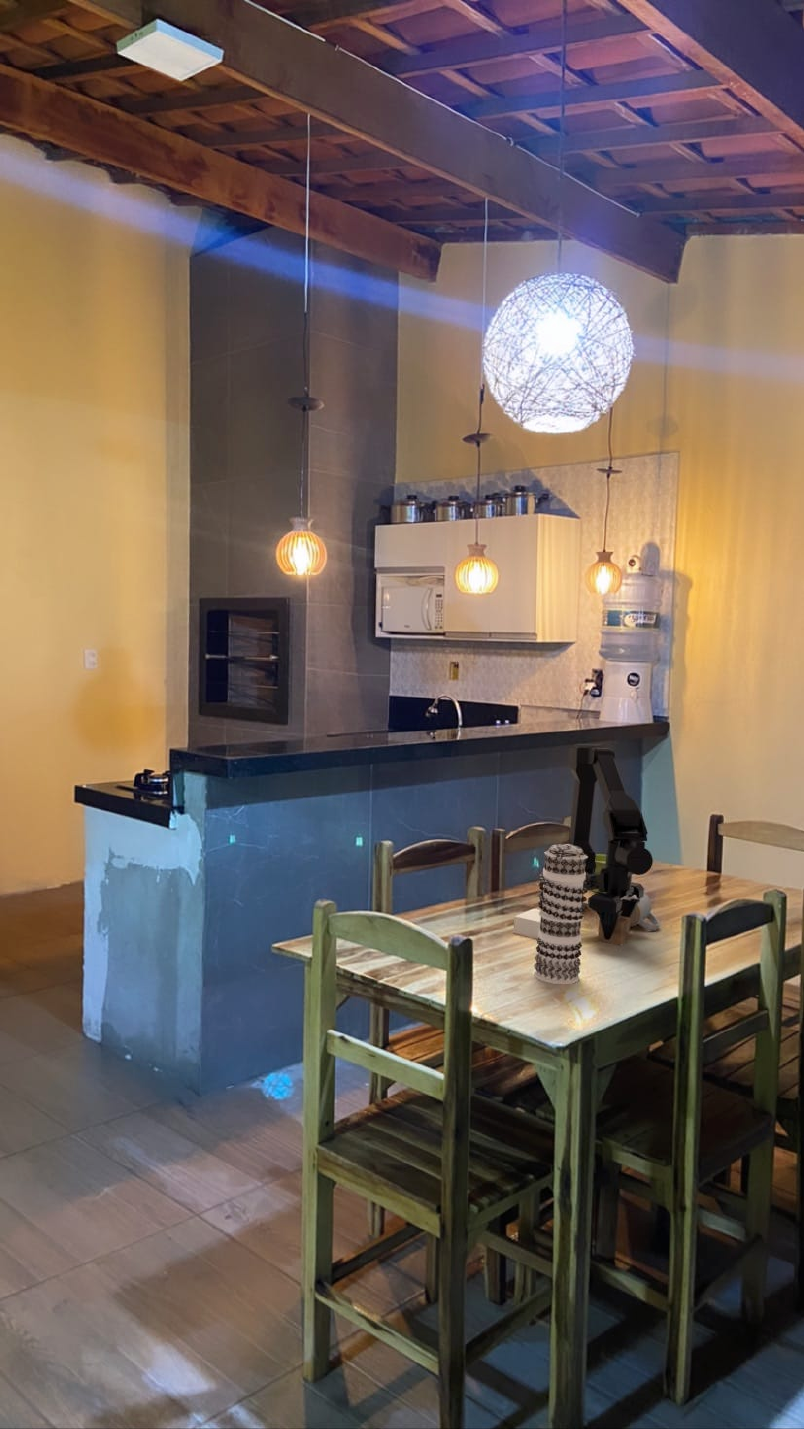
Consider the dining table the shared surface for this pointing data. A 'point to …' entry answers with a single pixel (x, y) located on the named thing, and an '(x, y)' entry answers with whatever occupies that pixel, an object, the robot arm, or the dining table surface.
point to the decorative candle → (561, 914)
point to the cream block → (528, 923)
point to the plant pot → (599, 865)
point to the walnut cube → (617, 932)
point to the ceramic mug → (644, 914)
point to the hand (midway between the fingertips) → (613, 935)
